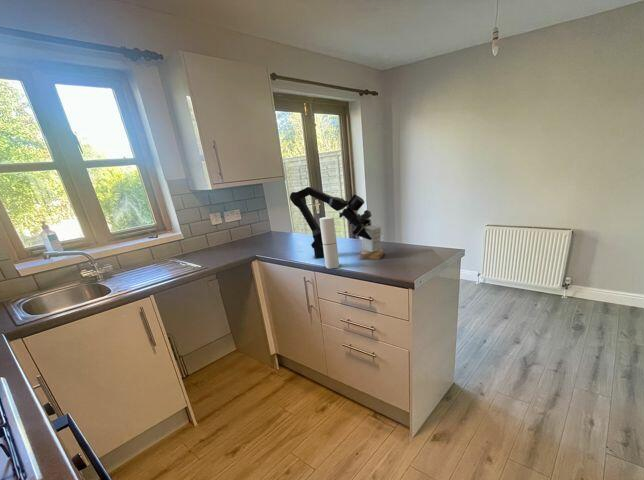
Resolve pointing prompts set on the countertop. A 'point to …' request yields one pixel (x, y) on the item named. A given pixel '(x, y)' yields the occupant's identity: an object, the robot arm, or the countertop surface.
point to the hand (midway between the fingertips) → (373, 237)
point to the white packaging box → (375, 241)
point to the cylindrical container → (329, 242)
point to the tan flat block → (372, 254)
